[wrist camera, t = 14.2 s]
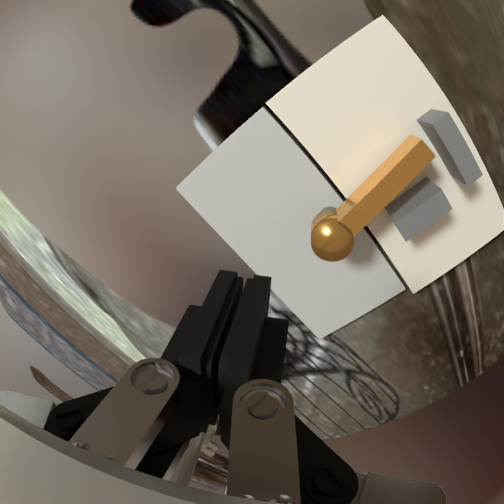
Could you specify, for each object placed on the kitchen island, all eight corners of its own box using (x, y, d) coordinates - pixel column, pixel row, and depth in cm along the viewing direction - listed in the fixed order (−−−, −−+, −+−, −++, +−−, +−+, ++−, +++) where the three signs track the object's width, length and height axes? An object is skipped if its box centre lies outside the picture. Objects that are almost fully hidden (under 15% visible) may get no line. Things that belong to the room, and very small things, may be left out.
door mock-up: (499, 216, 28) (528, 241, 22) (319, 333, 39) (318, 372, 33) (377, 20, 22) (393, 3, 16) (179, 185, 33) (151, 206, 27)
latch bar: (331, 253, 30) (332, 269, 27) (302, 228, 29) (301, 242, 26) (430, 156, 24) (442, 164, 21) (403, 126, 23) (414, 130, 20)
